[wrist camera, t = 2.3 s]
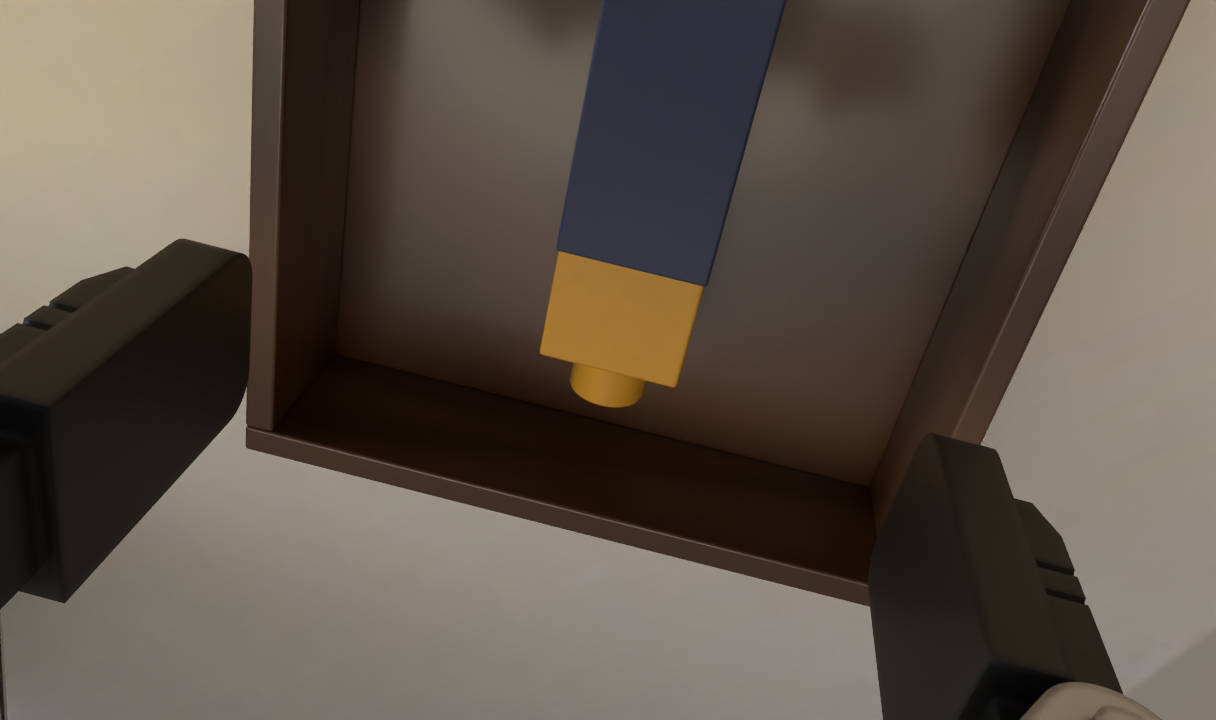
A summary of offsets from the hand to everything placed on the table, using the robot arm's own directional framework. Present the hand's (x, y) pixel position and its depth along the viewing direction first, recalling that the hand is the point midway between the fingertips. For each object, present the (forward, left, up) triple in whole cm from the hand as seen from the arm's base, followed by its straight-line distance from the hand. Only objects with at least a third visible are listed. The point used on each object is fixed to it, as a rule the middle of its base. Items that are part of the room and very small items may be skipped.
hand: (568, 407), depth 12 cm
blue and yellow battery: (-1, 0, -10) cm, 10 cm away
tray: (0, 0, -11) cm, 11 cm away
